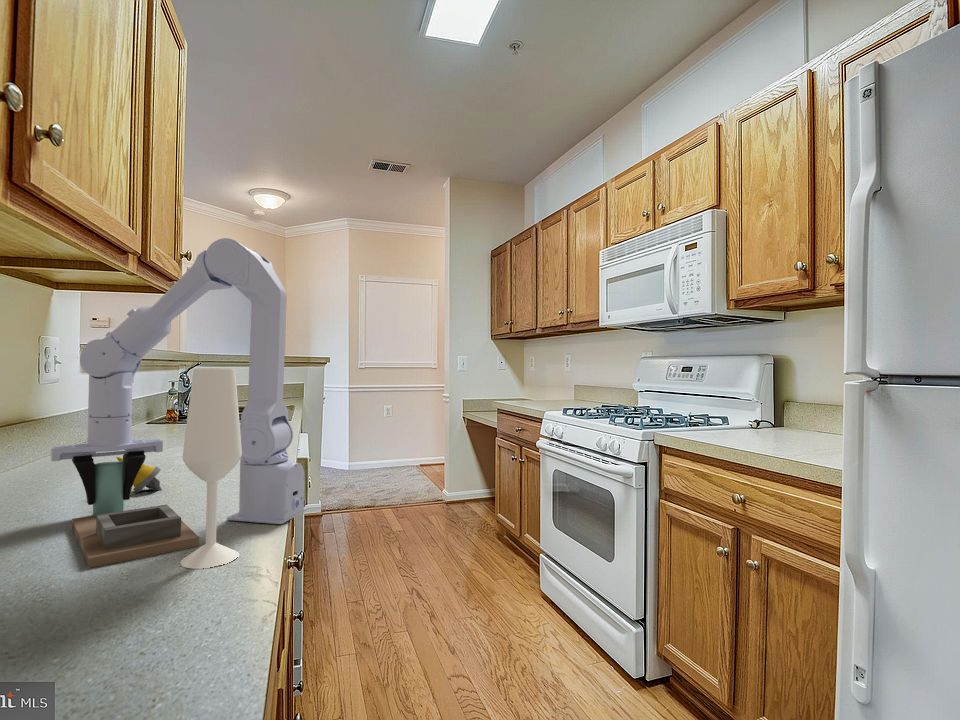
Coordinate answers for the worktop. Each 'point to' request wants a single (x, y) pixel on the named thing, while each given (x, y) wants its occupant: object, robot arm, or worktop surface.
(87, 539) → the dock board
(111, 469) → the peg
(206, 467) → the champagne flute
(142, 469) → the yellow cone with base
